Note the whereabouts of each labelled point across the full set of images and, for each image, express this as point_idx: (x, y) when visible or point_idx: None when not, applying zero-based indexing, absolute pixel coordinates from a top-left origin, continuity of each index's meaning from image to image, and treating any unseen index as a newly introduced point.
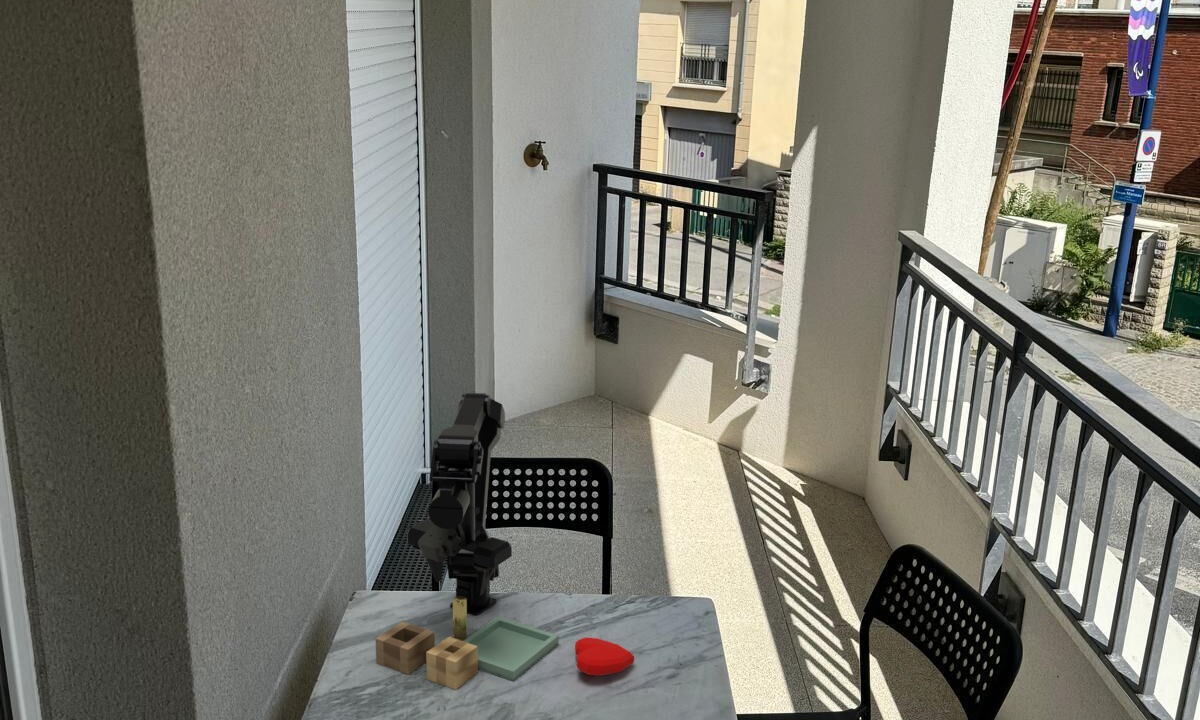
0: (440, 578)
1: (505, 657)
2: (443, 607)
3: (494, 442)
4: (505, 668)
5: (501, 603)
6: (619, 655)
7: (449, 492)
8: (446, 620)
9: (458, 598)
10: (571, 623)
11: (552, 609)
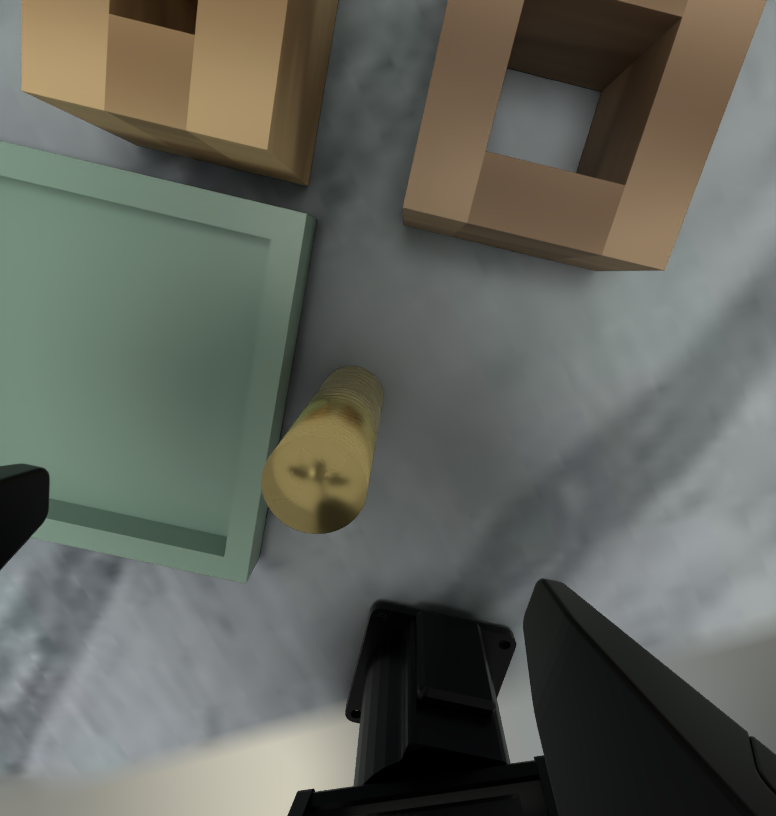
0: (531, 630)
1: (74, 304)
2: None
3: None
4: None
5: (327, 705)
6: None
7: None
8: (484, 534)
9: (330, 500)
10: (10, 646)
11: (128, 714)
